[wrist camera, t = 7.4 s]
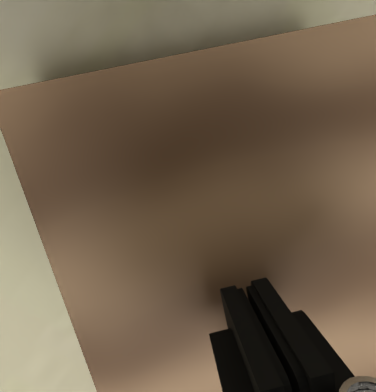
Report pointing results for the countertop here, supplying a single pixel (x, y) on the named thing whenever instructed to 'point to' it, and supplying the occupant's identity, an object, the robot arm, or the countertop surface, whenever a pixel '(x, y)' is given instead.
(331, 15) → the countertop surface
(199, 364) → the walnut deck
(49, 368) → the countertop surface
